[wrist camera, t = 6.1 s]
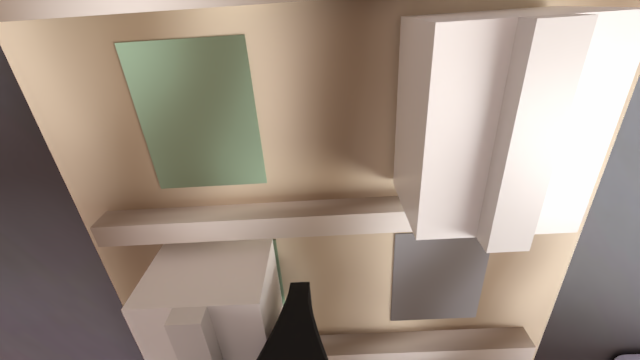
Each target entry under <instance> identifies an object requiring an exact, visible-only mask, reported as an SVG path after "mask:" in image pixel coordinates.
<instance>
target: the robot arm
mask: <svg viewBox="0 0 640 360" xmlns="http://www.w3.org/2000/svg"><path fill="white" fill-rule="evenodd" d="M256 360H328V357H327V354H326V352H325V349H324V346H323V344H322V341H321V338H320V335H319V332H318V328H317V325H316V321H315V318H314V314H313V309H312V300H311V290H310V282H291V283H290V287H289V292H288V295H287V298H286V301H285V303H284V306H283V308H282V310H281V313H280V315H279V317H278V319H277V321H276V323H275V326H274V328H273V330H272V332H271V334H270V336H269V338H268V339H267V341H266V343H265V345H264V347H263V349H262V350H261V352H260V354H259V356H258V357H257V359H256ZM614 360H640V354H625V355H620V356H618V357H616V358H615V359H614Z"/></svg>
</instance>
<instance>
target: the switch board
mask: <svg viewBox="0 0 640 360" xmlns="http://www.w3.org/2000/svg"><path fill="white" fill-rule="evenodd" d="M547 6H589V7H640V0H0V46H1V48H2V50H3V52H4V54H5V56H6V58H7V60H8V63H9V65H10V67H11V69H12V71H13V73H14V75H15V77H16V80H17V82H18V84H19V86H20V88H21V90H22V92H23V94H24V97H25V99H26V101H27V103H28V105H29V107H30V109H31V111H32V114H33V116H34V118H35V120H36V122H37V124H38V126H39V128H40V131H41V133H42V135H43V137H44V139H45V141H46V143H47V146H48V148H49V150H50V152H51V154H52V156H53V158H54V160H55V163H56V165H57V167H58V169H59V171H60V173H61V175H62V177H63V180H64V182H65V184H66V186H67V188H68V190H69V192H70V194H71V197H72V199H73V201H74V203H75V205H76V207H77V209H78V211H79V214H80V216H81V218H82V220H83V222H84V224H85V226H86V229H87V231H88V233H89V235H90V237H91V239H92V241H93V243H94V246H95V248H96V250H97V252H98V254H99V256H100V258H101V260H102V263H103V265H104V267H105V269H106V271H107V273H108V275H109V277H110V280H111V282H112V284H113V286H114V288H115V290H116V292H117V294H118V297H119V299H120V301H121V303H122V305H123V306H124V304H125V303H126V301H127V300H128V298H129V297H130V295H131V294H132V292H133V290H134V289H135V287H136V286H137V284H138V283H139V281H140V280H141V278H142V276H143V275H144V273H145V272H146V270H147V269H148V267H149V266H150V264H151V262H152V261H153V259H154V258H155V256H156V255H157V253H158V252H159V250H160V248H161V247H162V245H163V244H173V243H193V242H214V241H234V240H254V239H273V246H274V252H275V258H276V265H277V271H278V277H279V284H280V290H281V297H282V303H283V306H284V303H285V301H286V298H287V295H288V292H289V287H290V283H291V282H310V290H311V300H312V309H313V314H314V318H315V321H316V325H317V328H318V332H319V335H320V338H321V341H322V344H323V346H324V349H325V352H326V354H327V357H328V360H534V358H535V355H536V352H537V350H538V347H539V344H540V342H541V339H542V336H543V334H544V331H545V328H546V326H547V323H548V320H549V317H550V315H551V312H552V309H553V307H554V304H555V301H556V299H557V296H558V293H559V291H560V288H561V285H562V282H563V280H564V277H565V274H566V272H567V269H568V266H569V264H570V261H571V258H572V255H573V253H574V250H575V247H576V245H577V242H578V239H579V237H580V234H581V231H582V229H583V226H584V223H585V220H586V218H587V215H588V212H589V210H590V207H591V204H592V202H593V199H594V196H595V194H596V191H597V188H598V185H599V183H600V180H601V177H602V175H603V172H604V169H605V167H606V164H607V161H608V158H609V156H610V153H611V150H612V148H613V145H614V142H615V140H616V137H617V134H618V132H619V129H620V126H621V123H622V121H623V118H624V115H625V113H626V110H627V107H628V105H629V102H630V99H631V97H632V94H633V91H634V88H635V86H636V83H637V80H638V78H639V75H640V62H639V65H638V67H637V70H636V73H635V76H634V78H633V81H632V84H631V87H630V89H629V92H628V95H627V98H626V100H625V103H624V106H623V109H622V111H621V114H620V117H619V120H618V122H617V125H616V128H615V130H614V133H613V136H612V139H611V141H610V144H609V147H608V150H607V152H606V155H605V158H604V161H603V163H602V166H601V169H600V172H599V174H598V177H597V180H596V183H595V185H594V188H593V191H592V194H591V196H590V199H589V202H588V205H587V207H586V210H585V213H584V215H583V218H582V221H581V224H580V226H579V229H578V232H576V233H555V234H535V235H534V237H533V241H532V244H531V248H530V251H520V252H499V253H486V252H485V250H484V249H483V247H482V246H481V244H480V243H479V241H478V240H477V238H476V237H473V238H453V239H432V240H416V239H415V237H414V234H413V232H412V229H411V227H410V224H409V222H408V219H407V217H406V214H405V212H404V209H403V207H402V204H401V202H400V199H399V197H398V194H397V192H396V190H395V187H394V185H393V176H394V154H395V133H396V111H397V89H398V68H399V46H400V25H401V16H412V15H427V14H442V13H457V12H472V11H487V10H502V9H517V8H532V7H547Z"/></svg>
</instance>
